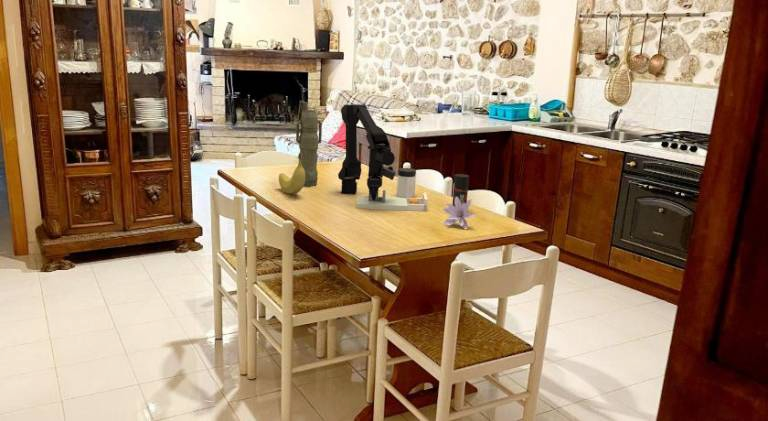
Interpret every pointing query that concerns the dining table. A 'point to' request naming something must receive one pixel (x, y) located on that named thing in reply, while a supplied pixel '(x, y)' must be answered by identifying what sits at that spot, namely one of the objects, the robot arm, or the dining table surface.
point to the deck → (382, 203)
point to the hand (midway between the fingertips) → (374, 197)
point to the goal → (420, 206)
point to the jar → (406, 182)
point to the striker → (378, 197)
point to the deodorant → (460, 188)
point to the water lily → (458, 213)
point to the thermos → (309, 145)
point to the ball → (413, 201)
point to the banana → (293, 179)
